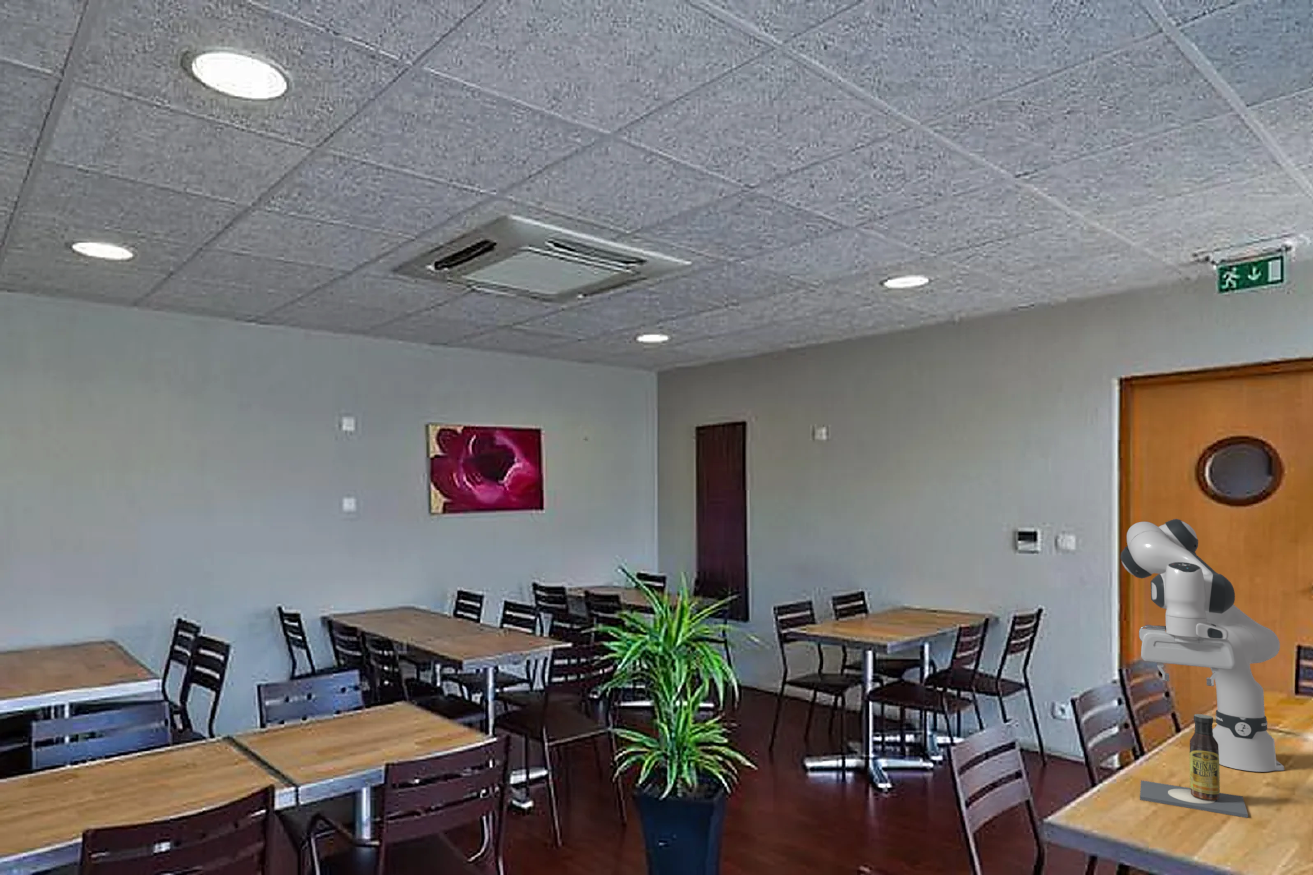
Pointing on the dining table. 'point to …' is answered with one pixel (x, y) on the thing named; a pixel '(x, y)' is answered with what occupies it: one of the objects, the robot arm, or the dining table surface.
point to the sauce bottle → (1204, 760)
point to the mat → (1192, 799)
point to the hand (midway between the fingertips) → (1187, 683)
